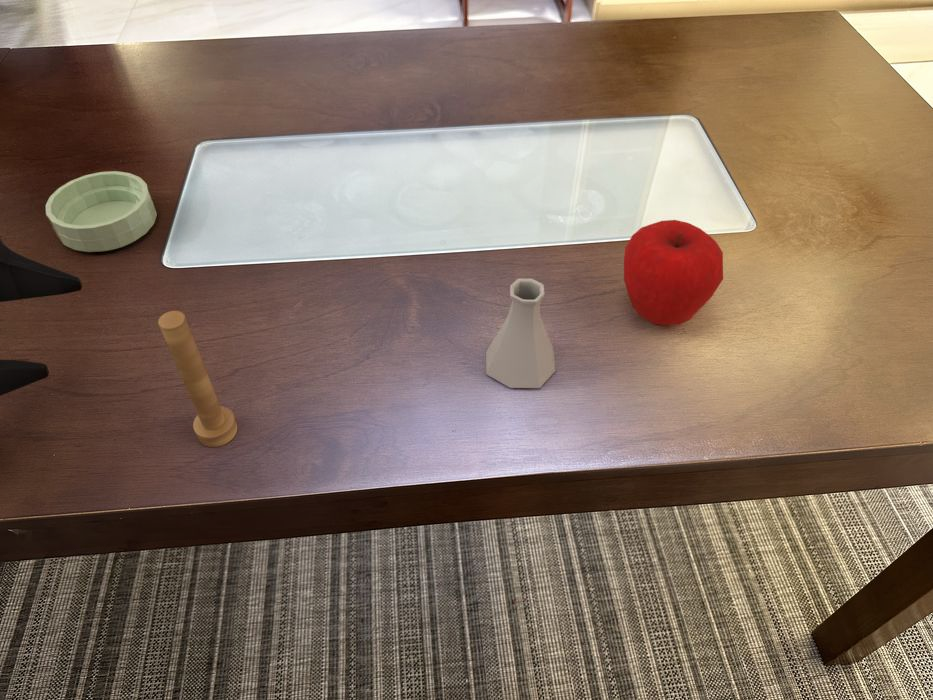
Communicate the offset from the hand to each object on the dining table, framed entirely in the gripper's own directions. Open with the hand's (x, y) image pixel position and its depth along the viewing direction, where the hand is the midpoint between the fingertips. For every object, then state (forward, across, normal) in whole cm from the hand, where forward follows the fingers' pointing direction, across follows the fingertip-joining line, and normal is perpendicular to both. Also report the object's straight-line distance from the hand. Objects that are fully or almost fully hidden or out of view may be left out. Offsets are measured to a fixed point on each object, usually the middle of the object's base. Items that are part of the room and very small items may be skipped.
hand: (65, 324), depth 55 cm
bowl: (-7, +32, +16) cm, 37 cm away
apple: (+54, +12, +7) cm, 56 cm away
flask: (+39, +6, +9) cm, 40 cm away
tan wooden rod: (+10, 0, +14) cm, 17 cm away
